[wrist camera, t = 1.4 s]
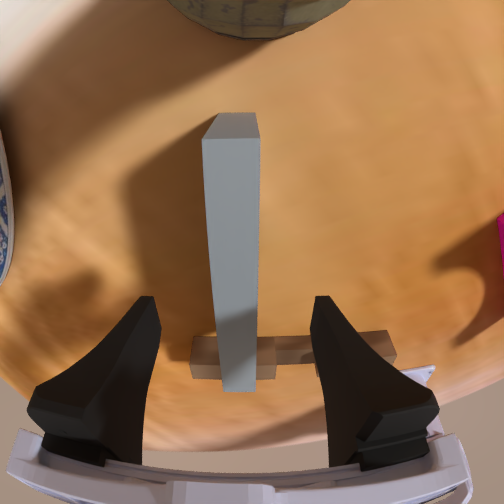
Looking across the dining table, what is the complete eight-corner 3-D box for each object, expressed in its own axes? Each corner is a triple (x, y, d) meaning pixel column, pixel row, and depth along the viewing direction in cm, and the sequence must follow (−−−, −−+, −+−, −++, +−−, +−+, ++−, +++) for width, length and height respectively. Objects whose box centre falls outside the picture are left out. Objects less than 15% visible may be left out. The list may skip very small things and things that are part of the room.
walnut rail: (386, 330, 26) (397, 355, 23) (380, 344, 27) (389, 369, 24) (193, 336, 26) (189, 364, 23) (196, 351, 27) (192, 378, 24)
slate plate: (253, 315, 24) (255, 391, 18) (227, 315, 24) (223, 391, 18) (255, 112, 16) (260, 138, 10) (218, 113, 16) (201, 139, 10)
